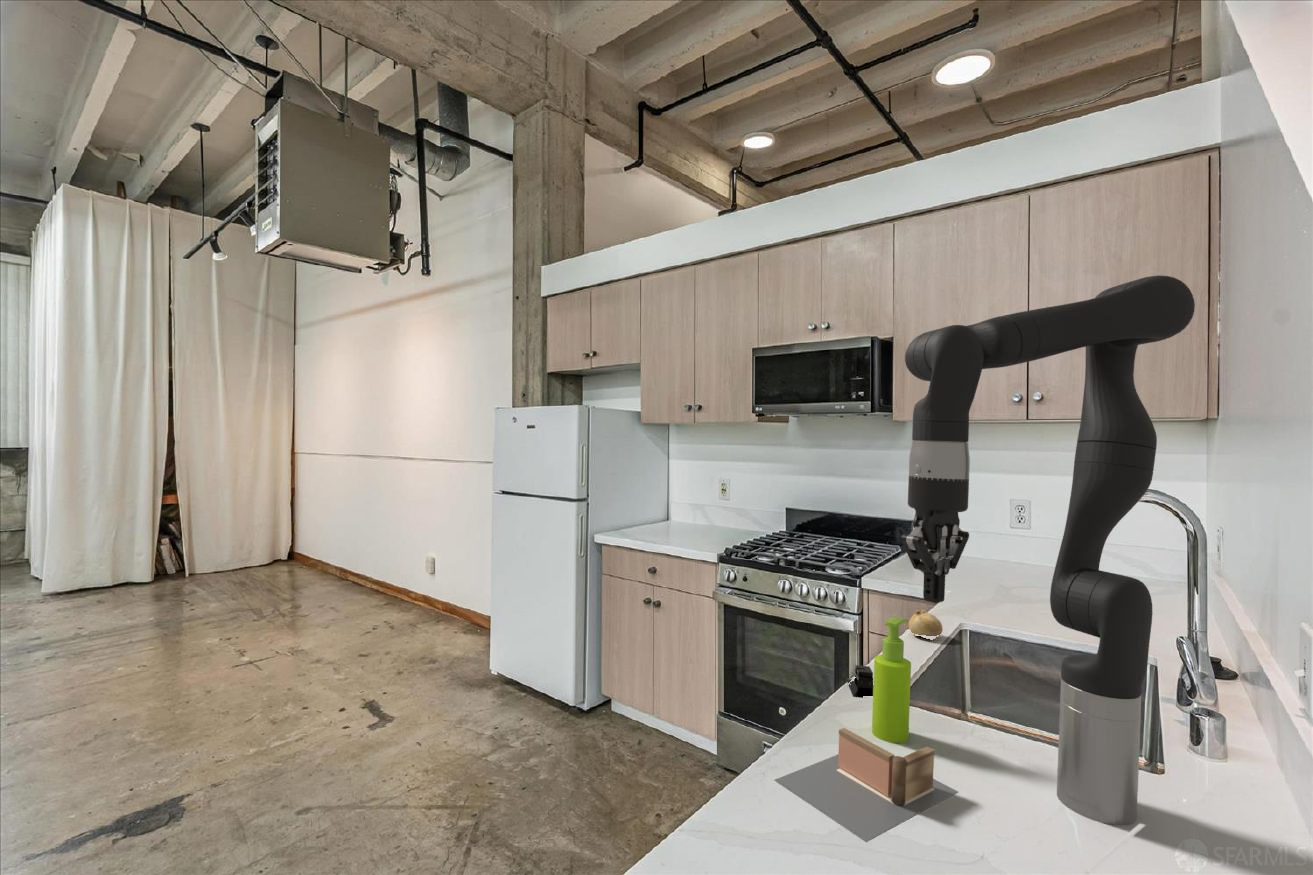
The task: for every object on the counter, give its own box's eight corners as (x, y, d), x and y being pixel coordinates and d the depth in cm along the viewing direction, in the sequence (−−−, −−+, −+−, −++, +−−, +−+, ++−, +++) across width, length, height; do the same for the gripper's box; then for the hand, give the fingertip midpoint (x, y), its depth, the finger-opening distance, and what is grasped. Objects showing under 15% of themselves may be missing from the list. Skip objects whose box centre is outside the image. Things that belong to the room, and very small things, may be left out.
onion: (932, 633, 165) (933, 606, 164) (947, 643, 157) (948, 615, 157) (903, 632, 164) (904, 605, 164) (916, 642, 156) (917, 614, 156)
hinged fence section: (892, 794, 87) (894, 754, 87) (887, 796, 87) (888, 756, 87) (843, 763, 95) (844, 727, 95) (837, 766, 94) (838, 729, 94)
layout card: (865, 745, 102) (865, 743, 102) (958, 794, 89) (958, 791, 89) (774, 782, 91) (774, 779, 91) (865, 844, 77) (865, 841, 77)
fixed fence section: (923, 783, 91) (925, 742, 91) (935, 789, 90) (936, 748, 90) (888, 800, 86) (889, 758, 86) (899, 807, 85) (901, 764, 85)
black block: (840, 677, 133) (841, 656, 133) (876, 680, 132) (876, 659, 132) (850, 702, 121) (851, 678, 120) (889, 706, 119) (890, 682, 119)
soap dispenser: (915, 734, 107) (920, 619, 107) (900, 748, 102) (904, 627, 102) (882, 723, 111) (886, 612, 111) (866, 736, 106) (870, 619, 106)
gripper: (936, 477, 78) (931, 615, 78) (991, 476, 85) (986, 601, 85) (884, 473, 84) (879, 600, 84) (940, 472, 91) (935, 589, 91)
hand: (933, 601), depth 84 cm, fingers closed
